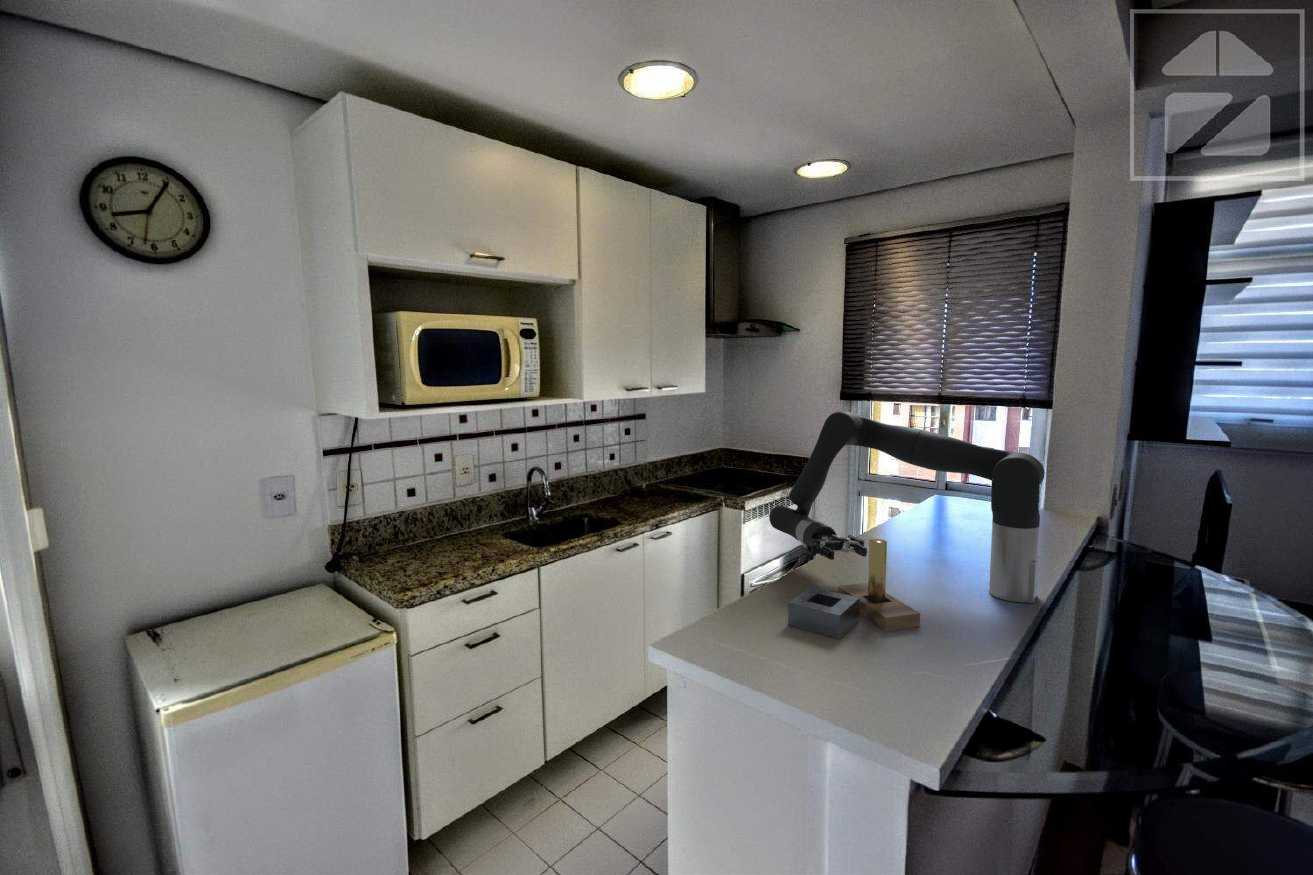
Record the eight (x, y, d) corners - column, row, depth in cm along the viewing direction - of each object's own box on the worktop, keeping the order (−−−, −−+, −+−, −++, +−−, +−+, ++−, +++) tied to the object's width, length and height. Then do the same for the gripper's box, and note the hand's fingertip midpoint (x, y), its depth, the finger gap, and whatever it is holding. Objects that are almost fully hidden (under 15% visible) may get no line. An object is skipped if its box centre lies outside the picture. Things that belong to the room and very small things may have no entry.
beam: (838, 598, 134) (838, 585, 134) (868, 594, 136) (868, 582, 135) (885, 631, 117) (885, 617, 116) (919, 626, 118) (920, 613, 118)
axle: (887, 611, 126) (889, 540, 125) (882, 616, 124) (883, 544, 122) (870, 607, 129) (872, 537, 127) (865, 612, 126) (866, 541, 124)
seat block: (859, 620, 122) (859, 597, 121) (839, 639, 114) (839, 615, 113) (810, 607, 129) (810, 586, 128) (788, 625, 120) (788, 602, 120)
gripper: (790, 523, 149) (822, 541, 134) (840, 519, 153) (876, 536, 137) (790, 551, 150) (821, 572, 135) (839, 546, 153) (875, 566, 138)
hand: (849, 554), depth 136 cm, fingers open, 8 cm apart
